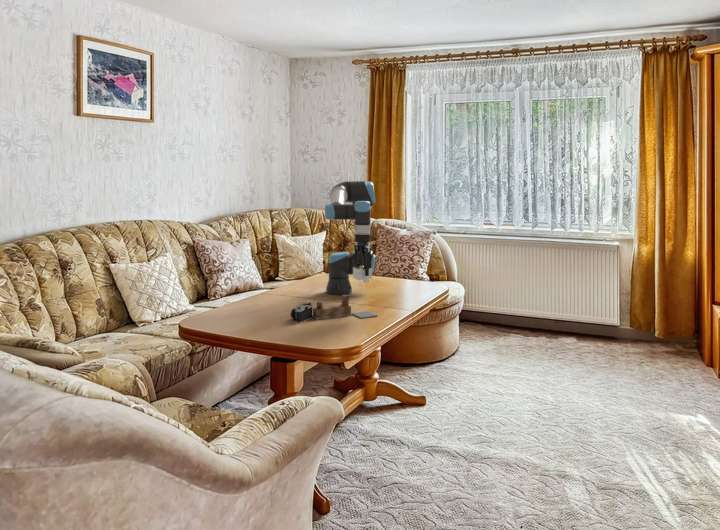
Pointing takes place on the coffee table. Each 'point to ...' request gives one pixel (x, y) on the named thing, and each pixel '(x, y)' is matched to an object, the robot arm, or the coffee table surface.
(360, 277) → the grey gold knob block
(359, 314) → the felt mat
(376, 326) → the coffee table surface
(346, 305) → the plane body
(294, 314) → the camera
